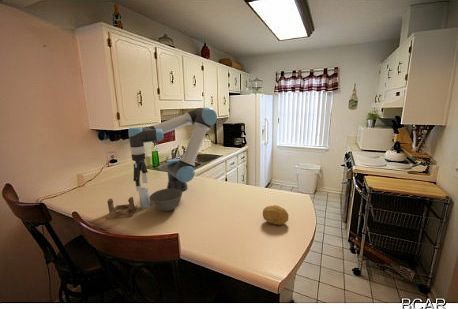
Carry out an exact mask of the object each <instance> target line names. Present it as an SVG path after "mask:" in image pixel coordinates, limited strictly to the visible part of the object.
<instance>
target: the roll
mask: <svg viewBox="0 0 458 309" xmlns="http://www.w3.org/2000/svg"><path fill="white" fill-rule="evenodd" d="M141 189H142V191H138V196H139V197H138V198H139V202H140V208H141V209H148V208H150V207H151V200H150V192H149V187H146V186H141Z"/></svg>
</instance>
